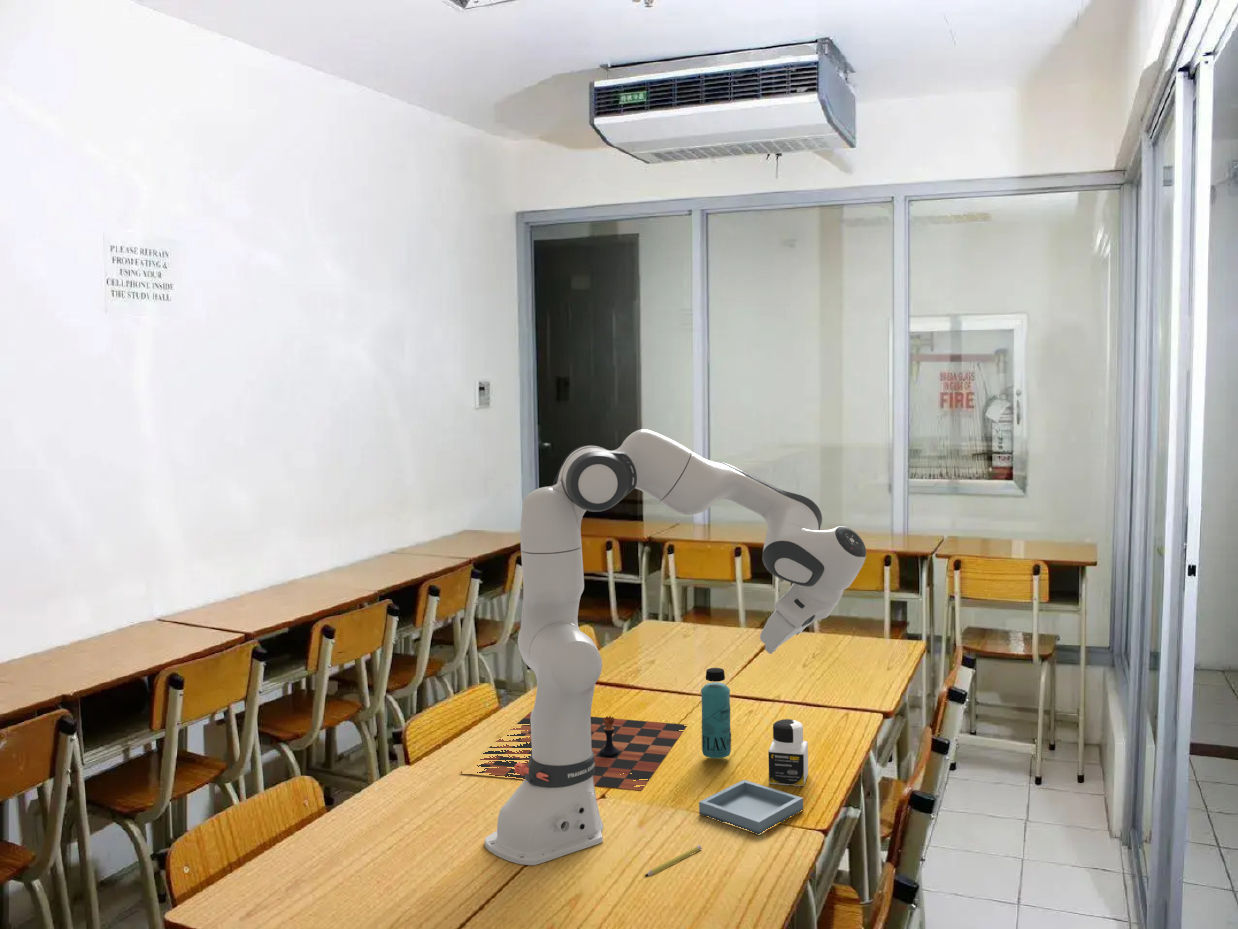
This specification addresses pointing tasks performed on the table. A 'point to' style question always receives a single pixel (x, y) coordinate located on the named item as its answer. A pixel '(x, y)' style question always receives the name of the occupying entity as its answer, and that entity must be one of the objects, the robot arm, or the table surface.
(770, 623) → the robot arm
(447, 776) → the table surface
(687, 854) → the pencil
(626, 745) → the chessboard
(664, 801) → the table surface
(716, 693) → the beverage bottle
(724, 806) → the tray
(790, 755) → the medicine bottle
